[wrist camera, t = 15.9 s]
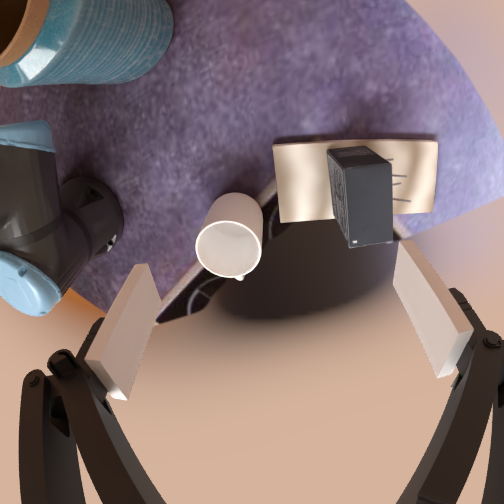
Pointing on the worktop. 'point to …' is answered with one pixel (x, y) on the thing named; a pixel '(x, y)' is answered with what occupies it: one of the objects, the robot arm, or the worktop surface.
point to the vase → (81, 40)
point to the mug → (231, 236)
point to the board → (318, 182)
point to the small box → (361, 195)
